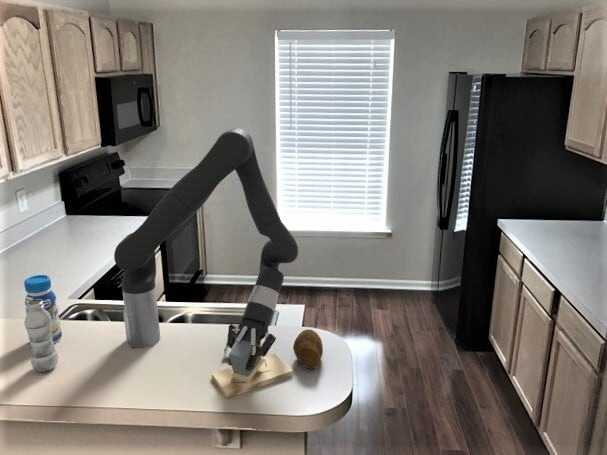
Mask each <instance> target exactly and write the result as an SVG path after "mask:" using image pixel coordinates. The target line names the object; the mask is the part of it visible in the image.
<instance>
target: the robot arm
mask: <svg viewBox="0 0 607 455" xmlns="http://www.w3.org/2000/svg"><path fill="white" fill-rule="evenodd" d="M234 171H235V172H236V174H237V176H238V180H239V181H240V184H241V188H242V190H243V193H244V196H245V197H244V198H245V200H246V205H247V209H248V211H249V214H250V216H251V219H252V220H253V222H254V225H255V227H256V230H257V231H258V233H259V234H260V235H261V236H265V237H267V238H268V239H269V240H267V242H266V243H265V244H264V246H263V247H262V250H261V253H260V264H259V272H258V276H257V278H256V281H255V284H254V287H253V289H252V291H251V292H250V295H249V298H248V300H247V303H246V306H245V308H244V312H243V315H242V319H241V321H240V322H239V324H236V325H235V324H234V325H233V324H232V323H231V324H229V325H228V333H227V341H226V343H227V346H229V348H230V349H231V350H232V349H233V348H234V347H235V346H236V344H237V343H240V342H241V341H242V340H245V341H250V342H251V346H252V350H251V355H250V356H249V359H248V362H247V365H246V367H245V370H247V371H251V370H253V368H254V366H255V363H256V360H257V358H258V357H265V356H267V355H268V352H269V351H270V349H271V347H272V346H273V345H274V343H275V342H276V339H277V337H276V336H275V335H274V334H272V333H270V332H269V327H270V325H271V323H272V322H271V321H272V319H273V315H274V312H275V309H276V308H277V304H278V300H279V299H278V298H279V296H280V292H281V289H282V286H283V283H284V279H285V277H284V274H283V272H281V271H280V270H279V266H280V264H291V263H293V262H294V261H296V259H297V258H298V255H299V248H298V243H297V242H296V239H295V237H294V236H293V235H292V233H291V231H289V229H288V228H287V227H286V225H285V224H284V223H283V222H282V220H281V218H280V215H279V212H278V210H277V208H276V205H275V203H274V201H273V199H272V197H271V194H270V192H269V190H268V187H267V186H266V182H265V180H264V178H263V175H262V171H261V169H260V167H259V163H258V160H257V155H256V151H255V146H254V141H253V138H252V136H251V135H250V134H249V133H248V132H247V131H246V130H244V129H241V128H238V127H237V128H230V129H228V130H227V131H225V132H223V133H222V134H220V136H219V137H218V138H217V139H216V141H215V143H214V144H213V145H212V147H211V148H210V149H209V151H208V152H207V153H206V154H205V156H204V157H203V158H202V160H200V162H199V163H198V164H197V165H196V166H195V167H194V168H192V169H191V170H190V171H188V173H186V174H185V175H184V176H182V177H181V178H180V179H179V180H178V181H177V182H176V183H175V184H174V185H172V187H171V188H169V190H168V191H167V192H166V193H165V194H164V196H163V197H162V198H161V199H160V200H159V202H157V204H156V205H155V206H154V208H153V209H151V212H150V213H149V215H148V216H147V218H146V219H145V220H144V221H143V222H142V223H141V225H140V226H139V227H138V228H136V230H134V232H131V233H130V234H129V233H128V235H126V236H125V237H124V238H123V239H122V240H121V241H120V242H119V243H118V244H117V245H116V247H115V249H114V254H113V256H114V257H113V258H114V262H115V265H116V266H117V267H118V268H119V269H120V270H122V271H123V275H122V279H121V290H122V296H123V297H122V298H123V299H122V300H123V305H124V306H123V308H124V310H123V320H124V329H125V336H126V338H125V339H126V341H127V343H128V344H129V346H130V348H132V349H133V348H146V347H150V346H153V345H155V344H156V343H157V342H159V341H160V339H161V330H160V320H159V310H158V299H157V291H156V290H157V289H156V278H157V277H156V276H157V264H156V263H157V262H156V261H157V260H156V259H157V258H156V250H157V249H158V248H159V247H160V245H162V243H163V242H164V241H166V240H167V239H168V238H170V236H172V235H173V234H174V233H175V232H177V231H178V230H179V229H180V228H181V227H183V225H185V224H186V222H188V221H189V220H190V219H191V218H192V217H193V216H194V215H195V214H196V213H197V212H198V211H199V210H200V209H201V208H202V206H203V205H204V204H205V203H206V202H207V200H208V199H209V198H210V197H211V195H212V194H213V192H214V191H215V189H216V187H218V185H219V184H220V183H221V182H222V181H223V180H224V179H226V178H227V177H228V176H229V175H231V173H233V172H234ZM238 330H239V332H240V334H239V336H238V337H236V334H237V333H238ZM263 339H264V341H263V342H262V340H263ZM261 342H262V344H261ZM257 343H258V344H257ZM228 357H229V356H228ZM227 360H228V365H229V366H230V367H232V364H231V361H230V357H229V359H227Z"/></svg>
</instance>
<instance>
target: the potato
mask: <svg viewBox="0 0 607 455" xmlns="http://www.w3.org/2000/svg"><path fill="white" fill-rule="evenodd" d="M322 341H323V340H322V338H321V337H320V335H319V333H317V332H316V331H314V330H313V329H308V328H307V329H305V330H304V329H303V331H301V332H300V333H299V334H298V335H297V337H296V338H295V340H294V342H293V346H292V348H293V353H294V355H295V357H296V359H297V361H298V362H299V363H300V365H302V366H303V367H304V368H306V369H316V368H317V367H318V366H319V364H320V363H321V360H322V356H323V353H324V352H323V351H324V349H323V348H324V345H323V342H322Z"/></svg>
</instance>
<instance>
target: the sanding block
mask: <svg viewBox="0 0 607 455" xmlns="http://www.w3.org/2000/svg"><path fill="white" fill-rule="evenodd" d="M257 344H258V343H257ZM251 350H252V346H251V342H250V341H245V340H242V341H241V342H240V343H237V344H236V346H235V347H234V348H233V349H231V350H230V351H229V353H228V357H230V361H231V364H232V366H231V367H232V369H233V372H232V373H231V374H232V378H235V379H238V380H241V381H245V382H248V383H249V381H250V380H251V379H252V377H253V376H254V375H255V373H256V372H257V371H258V369H259V368H260V366H261V365H262V364H263V362H264V359H263V357H262V356H261V357H258V358H257V360H256V363H255V366H254V368H253V370H251V371H247V370H245V367H246V365H247V362H248V359H249V356H250V355H251Z"/></svg>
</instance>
